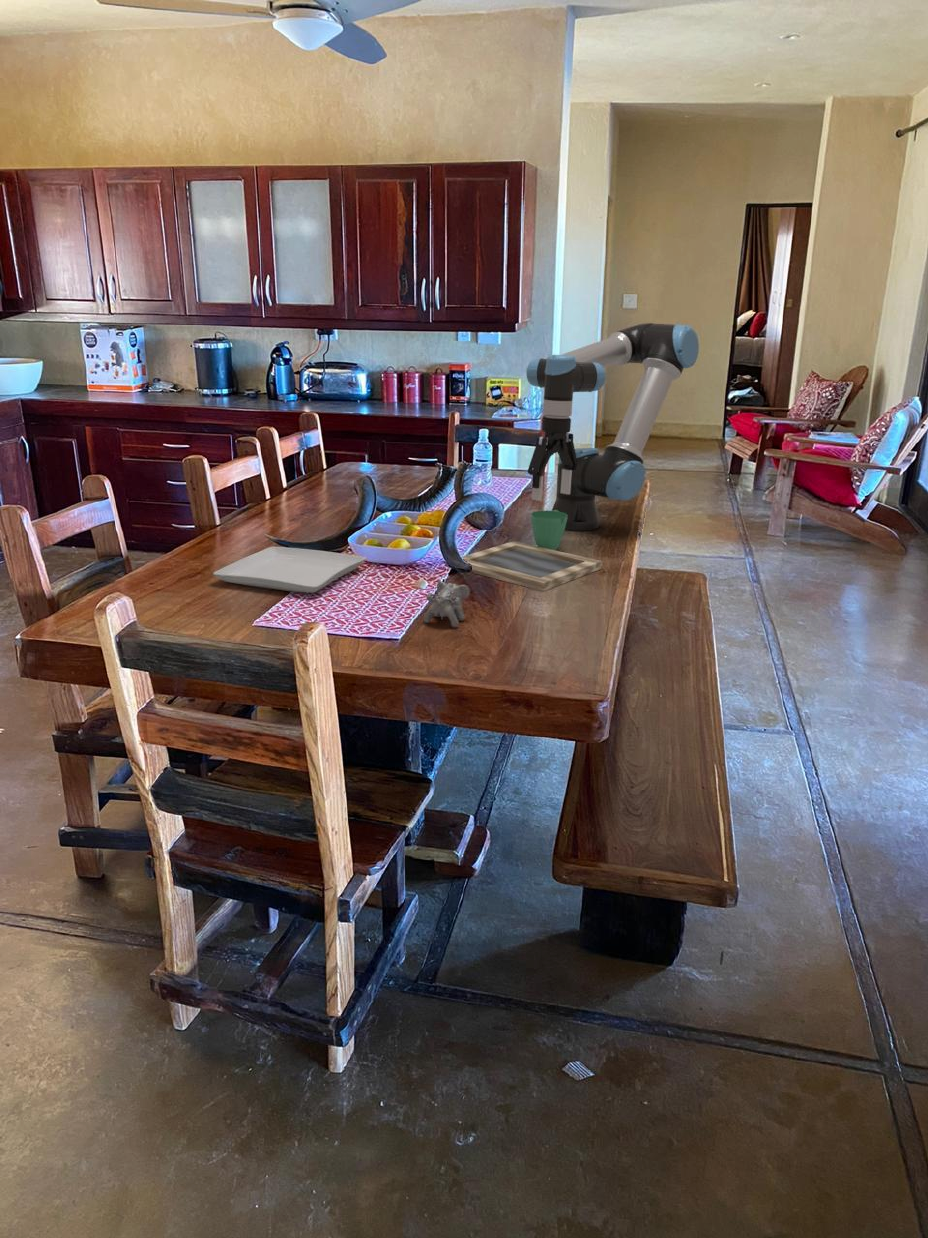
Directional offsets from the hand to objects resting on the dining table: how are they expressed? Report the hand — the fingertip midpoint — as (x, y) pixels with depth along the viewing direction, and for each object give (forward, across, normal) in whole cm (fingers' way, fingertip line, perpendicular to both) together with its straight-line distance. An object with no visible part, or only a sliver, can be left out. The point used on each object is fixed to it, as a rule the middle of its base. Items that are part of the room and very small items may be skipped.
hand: (551, 496), depth 241 cm
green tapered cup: (+14, 0, 0) cm, 15 cm away
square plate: (+16, +66, -29) cm, 73 cm away
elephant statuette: (+15, +62, +17) cm, 67 cm away
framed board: (+14, +20, +7) cm, 25 cm away
